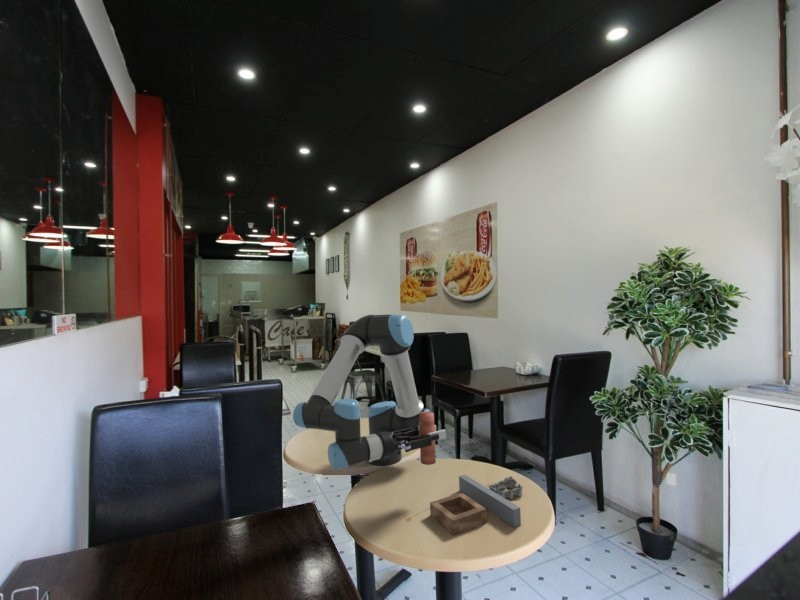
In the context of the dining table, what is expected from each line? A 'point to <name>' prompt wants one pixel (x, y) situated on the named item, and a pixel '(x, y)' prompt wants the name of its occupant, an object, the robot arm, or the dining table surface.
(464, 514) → the socket block
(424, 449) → the dowel
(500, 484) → the grey rough frame
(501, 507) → the backstop wall
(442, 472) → the dining table surface
